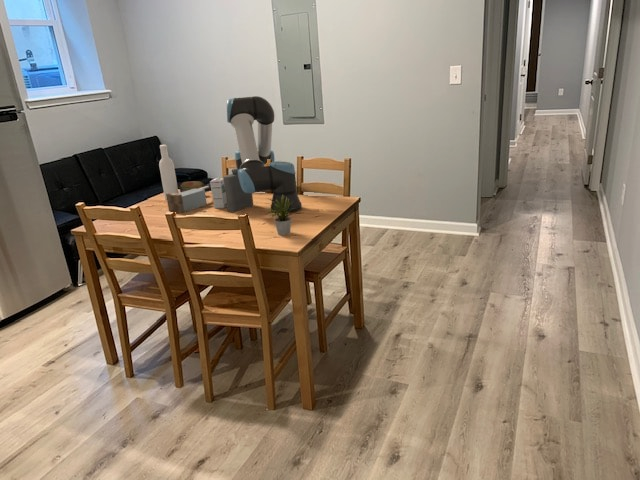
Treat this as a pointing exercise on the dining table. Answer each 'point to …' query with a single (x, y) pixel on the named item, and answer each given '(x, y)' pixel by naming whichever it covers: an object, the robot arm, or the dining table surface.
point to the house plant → (282, 217)
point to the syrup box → (218, 193)
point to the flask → (236, 193)
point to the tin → (190, 186)
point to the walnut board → (175, 202)
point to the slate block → (193, 199)
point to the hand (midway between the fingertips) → (199, 191)
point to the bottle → (167, 172)
